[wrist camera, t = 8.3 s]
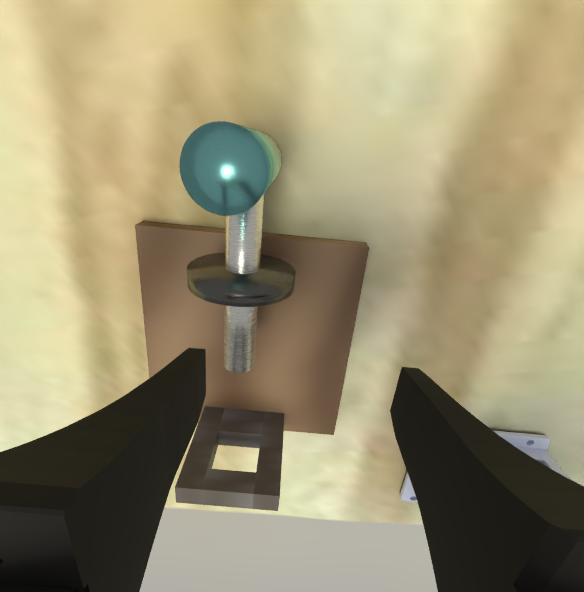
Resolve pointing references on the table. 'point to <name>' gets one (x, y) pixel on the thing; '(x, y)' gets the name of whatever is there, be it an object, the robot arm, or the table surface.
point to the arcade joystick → (235, 230)
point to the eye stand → (268, 353)
